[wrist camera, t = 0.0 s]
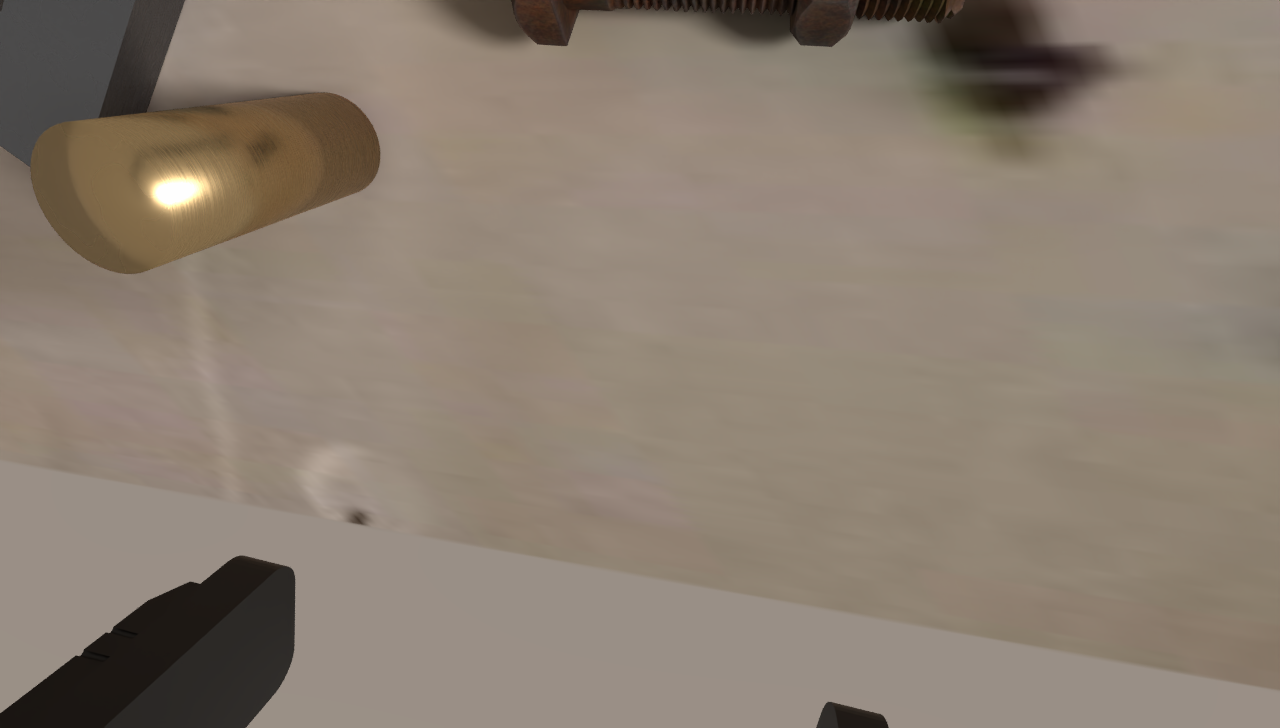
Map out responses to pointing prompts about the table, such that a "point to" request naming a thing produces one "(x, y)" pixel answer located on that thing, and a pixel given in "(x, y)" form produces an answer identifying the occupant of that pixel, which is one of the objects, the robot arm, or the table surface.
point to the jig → (77, 62)
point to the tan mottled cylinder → (197, 174)
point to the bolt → (814, 4)
